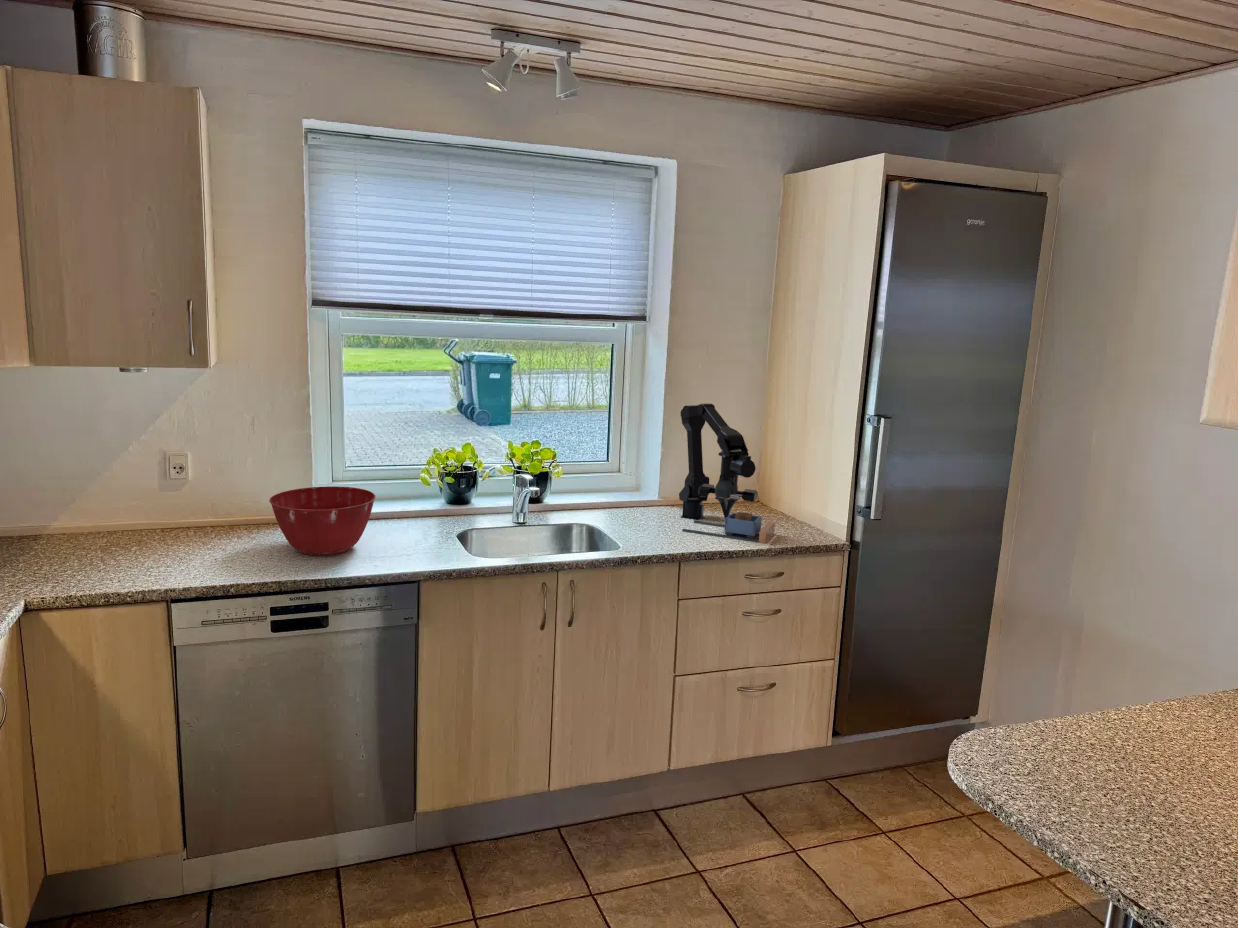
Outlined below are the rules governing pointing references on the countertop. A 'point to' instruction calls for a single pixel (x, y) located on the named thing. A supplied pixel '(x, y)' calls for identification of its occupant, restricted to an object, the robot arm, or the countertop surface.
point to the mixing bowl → (323, 517)
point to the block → (743, 516)
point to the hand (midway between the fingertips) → (726, 518)
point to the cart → (742, 526)
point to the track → (763, 536)
